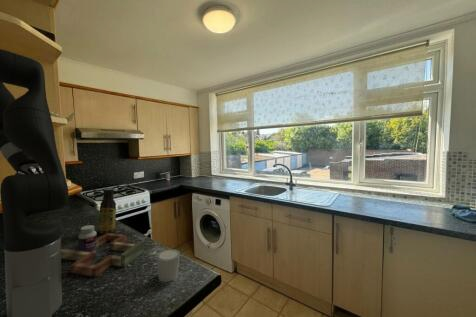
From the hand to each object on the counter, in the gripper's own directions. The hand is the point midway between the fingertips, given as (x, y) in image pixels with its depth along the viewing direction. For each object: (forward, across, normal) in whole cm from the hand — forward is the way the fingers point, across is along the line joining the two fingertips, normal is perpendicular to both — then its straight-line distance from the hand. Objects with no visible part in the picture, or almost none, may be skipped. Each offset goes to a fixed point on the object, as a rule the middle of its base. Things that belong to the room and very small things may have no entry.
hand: (50, 191), depth 73 cm
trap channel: (+30, +2, +2) cm, 30 cm away
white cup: (+50, -5, -19) cm, 54 cm away
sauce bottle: (+21, +18, +11) cm, 30 cm away
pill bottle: (+26, +2, +6) cm, 26 cm away
